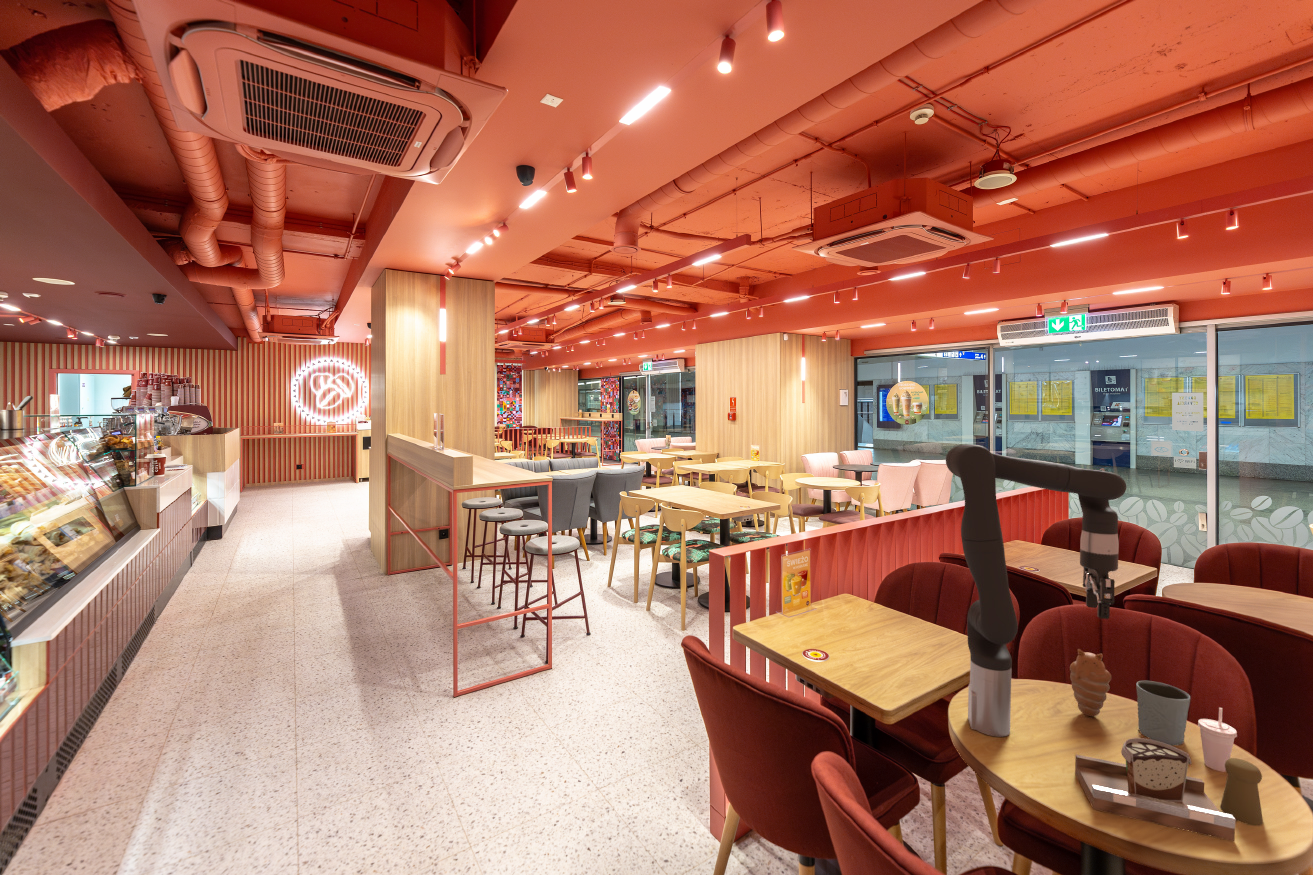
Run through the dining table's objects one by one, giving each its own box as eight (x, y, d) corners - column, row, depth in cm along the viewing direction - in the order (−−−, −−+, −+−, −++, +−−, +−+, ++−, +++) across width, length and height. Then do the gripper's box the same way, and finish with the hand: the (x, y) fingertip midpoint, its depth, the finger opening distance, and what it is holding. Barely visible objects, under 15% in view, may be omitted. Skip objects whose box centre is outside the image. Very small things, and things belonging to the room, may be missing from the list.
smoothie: (1243, 776, 123) (1246, 716, 123) (1210, 773, 125) (1212, 713, 124) (1220, 759, 130) (1222, 702, 129) (1189, 756, 131) (1191, 699, 130)
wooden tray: (1094, 810, 113) (1094, 789, 113) (1075, 773, 125) (1075, 754, 125) (1235, 842, 105) (1236, 819, 104) (1200, 799, 116) (1201, 779, 116)
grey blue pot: (1130, 733, 141) (1131, 687, 140) (1140, 719, 147) (1141, 676, 146) (1184, 752, 133) (1186, 704, 132) (1192, 737, 139) (1194, 691, 138)
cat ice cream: (1068, 716, 148) (1070, 651, 148) (1068, 704, 155) (1070, 642, 154) (1110, 727, 143) (1112, 660, 142) (1108, 714, 149) (1110, 650, 149)
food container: (1163, 781, 118) (1165, 736, 118) (1190, 801, 112) (1191, 754, 112) (1105, 780, 119) (1106, 735, 118) (1128, 800, 113) (1129, 753, 112)
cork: (1211, 804, 115) (1213, 754, 114) (1237, 803, 115) (1239, 752, 115) (1245, 826, 109) (1247, 772, 108) (1272, 824, 109) (1274, 771, 109)
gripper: (1129, 557, 130) (1127, 624, 130) (1107, 544, 143) (1105, 605, 143) (1090, 554, 133) (1088, 620, 133) (1072, 542, 146) (1070, 601, 146)
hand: (1097, 612), depth 138 cm, fingers open, 8 cm apart
